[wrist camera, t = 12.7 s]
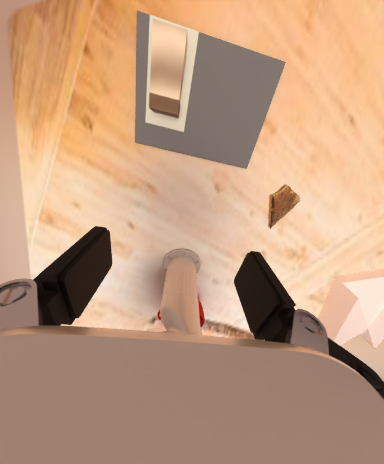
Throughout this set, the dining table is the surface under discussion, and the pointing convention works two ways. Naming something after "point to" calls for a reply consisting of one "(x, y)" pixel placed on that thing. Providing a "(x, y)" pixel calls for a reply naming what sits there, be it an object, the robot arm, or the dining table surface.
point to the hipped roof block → (355, 308)
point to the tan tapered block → (167, 68)
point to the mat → (207, 98)
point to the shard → (281, 204)
